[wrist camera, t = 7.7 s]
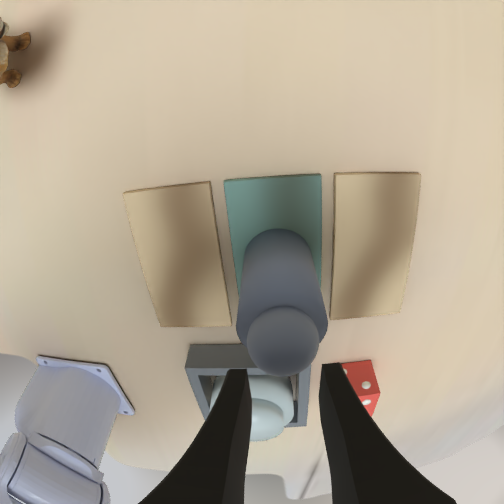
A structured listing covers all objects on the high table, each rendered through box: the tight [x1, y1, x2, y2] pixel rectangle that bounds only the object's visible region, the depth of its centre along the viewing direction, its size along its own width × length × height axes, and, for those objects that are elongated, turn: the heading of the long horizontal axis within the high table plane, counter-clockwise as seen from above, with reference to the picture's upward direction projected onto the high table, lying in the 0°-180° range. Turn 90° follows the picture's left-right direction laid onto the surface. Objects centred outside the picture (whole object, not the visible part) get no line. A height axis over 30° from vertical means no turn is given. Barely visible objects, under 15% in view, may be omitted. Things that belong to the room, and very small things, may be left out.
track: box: [123, 172, 421, 327], centre depth 19 cm, size 17×10×1 cm, turn 95°
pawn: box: [236, 229, 328, 377], centre depth 15 cm, size 4×4×8 cm
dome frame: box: [185, 344, 311, 427], centre depth 24 cm, size 9×9×2 cm
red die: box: [341, 360, 380, 417], centre depth 23 cm, size 4×4×4 cm
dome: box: [210, 374, 294, 441], centre depth 22 cm, size 6×6×4 cm
